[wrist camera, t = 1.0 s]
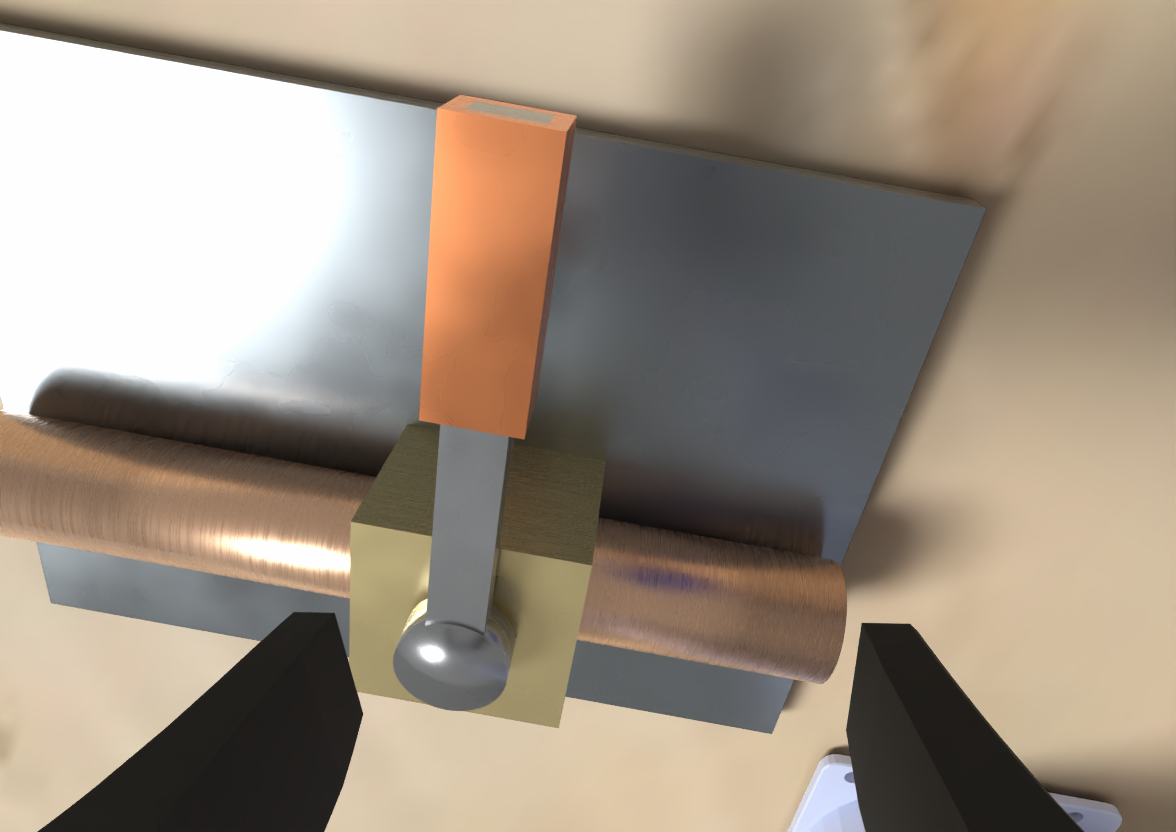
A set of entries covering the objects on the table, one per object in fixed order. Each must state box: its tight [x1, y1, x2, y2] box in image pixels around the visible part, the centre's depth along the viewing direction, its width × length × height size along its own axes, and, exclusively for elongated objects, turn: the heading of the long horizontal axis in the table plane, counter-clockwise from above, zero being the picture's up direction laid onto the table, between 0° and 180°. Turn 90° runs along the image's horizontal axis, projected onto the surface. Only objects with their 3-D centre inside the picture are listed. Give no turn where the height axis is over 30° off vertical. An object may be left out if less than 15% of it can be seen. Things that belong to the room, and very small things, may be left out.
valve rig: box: [0, 23, 986, 734], centre depth 19 cm, size 22×16×5 cm
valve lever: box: [393, 95, 577, 711], centre depth 14 cm, size 12×2×1 cm, turn 171°
